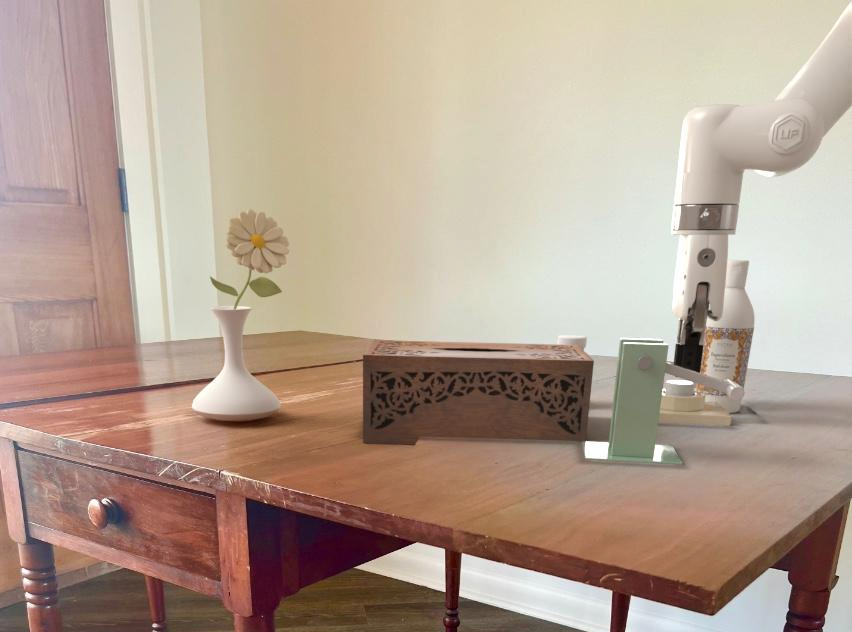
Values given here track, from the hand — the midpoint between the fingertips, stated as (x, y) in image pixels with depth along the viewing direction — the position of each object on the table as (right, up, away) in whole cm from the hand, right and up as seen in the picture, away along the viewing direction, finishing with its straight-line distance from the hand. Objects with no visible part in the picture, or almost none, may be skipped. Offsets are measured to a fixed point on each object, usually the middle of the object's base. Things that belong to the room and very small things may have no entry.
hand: (685, 376), depth 112 cm
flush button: (-1, -2, +1) cm, 3 cm away
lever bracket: (-12, -14, -17) cm, 25 cm away
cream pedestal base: (-1, -6, +3) cm, 6 cm away
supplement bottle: (-13, -1, +13) cm, 18 cm away
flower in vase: (-58, -6, +1) cm, 58 cm away
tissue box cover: (-28, -9, -5) cm, 30 cm away
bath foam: (+8, -2, +12) cm, 14 cm away
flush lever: (-8, -6, -21) cm, 23 cm away
